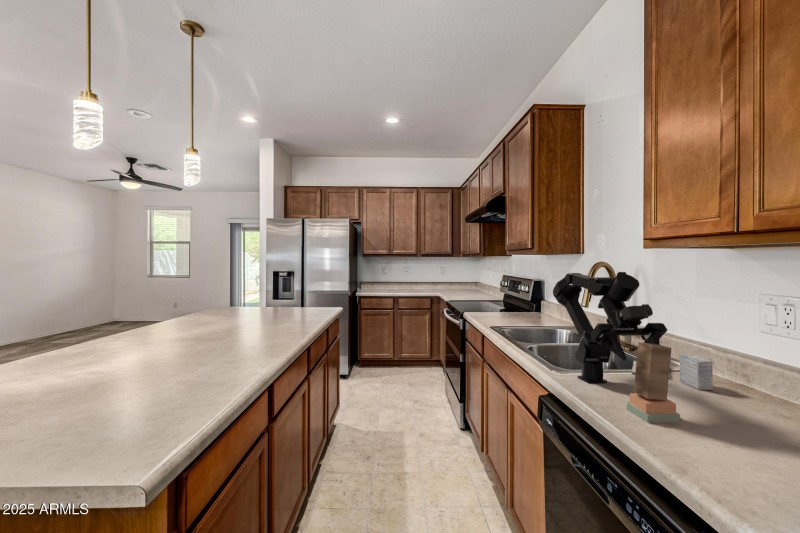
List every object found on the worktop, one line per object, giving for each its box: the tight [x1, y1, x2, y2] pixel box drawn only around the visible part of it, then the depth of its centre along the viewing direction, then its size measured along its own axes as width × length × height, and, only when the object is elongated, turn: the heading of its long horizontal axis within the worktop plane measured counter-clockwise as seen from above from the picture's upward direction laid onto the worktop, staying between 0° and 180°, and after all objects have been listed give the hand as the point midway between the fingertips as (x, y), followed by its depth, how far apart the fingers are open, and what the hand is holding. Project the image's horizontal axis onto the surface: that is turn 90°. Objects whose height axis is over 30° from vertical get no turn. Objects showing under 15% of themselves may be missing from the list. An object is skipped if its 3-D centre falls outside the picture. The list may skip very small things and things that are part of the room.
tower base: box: [626, 401, 681, 424], centre depth 94 cm, size 8×8×2 cm
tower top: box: [629, 392, 677, 414], centre depth 93 cm, size 7×7×2 cm
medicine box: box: [679, 354, 714, 391], centre depth 115 cm, size 8×4×9 cm, turn 179°
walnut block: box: [633, 341, 672, 401], centre depth 94 cm, size 5×5×13 cm
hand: (642, 359), depth 97 cm, fingers open, 9 cm apart
